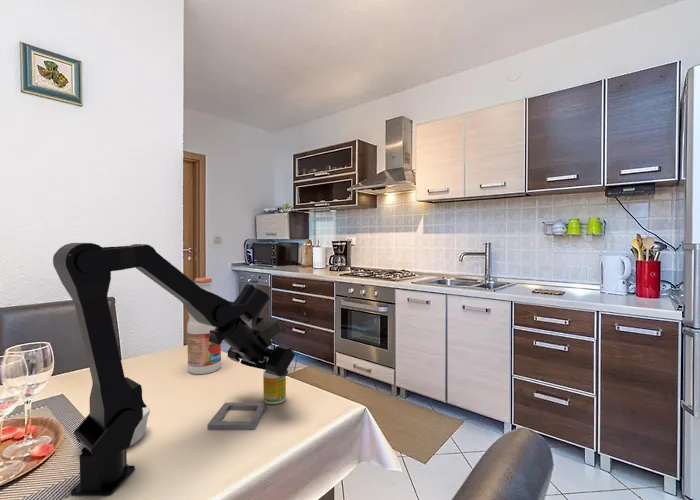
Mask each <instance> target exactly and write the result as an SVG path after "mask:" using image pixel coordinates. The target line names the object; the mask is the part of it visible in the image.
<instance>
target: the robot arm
mask: <svg viewBox="0 0 700 500" xmlns="http://www.w3.org/2000/svg"><path fill="white" fill-rule="evenodd" d="M52 265H53V268H54V269H55V271H56V274H57V276H58V278H59V280H60V282H61V284H62V285H63V287H64V289H65V290H66V292H67V294H68V295H69V296H70V297H71V299H72V302H73V304H74V308H75V311H76V317H77V321H78V325H79V329H80V333H81V338H82V341H83V347H84V351H85V355H86V359H87V364H88V368H89V372H90V376H91V381H92V386H91V390H90V395H89V413H88V415H87V416H85V418H84V420H82V422H81V423H80V424H79V425H78V426H77V427H76V429H74V430H73V436H74V437H75V439H76V441H77V442H78V443H79V444H80V445H82V449H81V454H79V456H78V458H79V459H78V460H79V461H78V462H79V482H78V484H76V485H75V486H74V487H73V488H72V489H70V495H75V496H76V495H78V496H80V495H81V496H88V495H89V496H109V495H111V494H114V492H115V491H116V489H117V488H119V487H120V486H121V484H122V483H123V482H124V481H126V479H127V478H128V477H129V476H130V475H131V474H132V473H133V472H134V471H135V470H136V466H135V465H127V464H128V463H127V462H128V461H127V458H128V457H127V449H128V448H130V447H131V446H130V443H131V440H132V437H133V434H134V431H135V428H136V427H137V426H138V424H139V423H140V421H141V420H142V418H143V409H142V408H146V405H147V404H146V403H145V402H144V400H143V388H142V384H140V383H138V382H136V381H135V380H133V379H131V378H129V377H127V376H125V371H124V368H123V363H122V359H121V354H120V349H119V346H118V340H117V336H116V331H115V328H114V322H113V318H112V313H111V308H110V303H109V299H108V293H109V289H110V286H111V280H112V273H111V272H117V271H124V270H129V269H134V268H135V269H136V270H138V271H139V272H140V273H142V274H144V275H145V276H146V277H147V278H149V279H150V280H151V281H153V283H156V284H157V285H158V286H159V287H160V288H162V289H164V290H165V291H166V292H168V293H169V294H171V295H172V296H173V297H174V298H176V299H177V300H178V301H180V302H181V303H182V304H183V306H184V308H185V309H186V311H187V313H188V312H189V313H190V314H191V316H192V317H193V318H194V319H195V320H196V321H197V322H199V323H202V324H206V325H209V326H213V327H216V328H215V329H214V330H210V336H209V342H211V343H214V344H217V345H220V344H221V345H222V342H225V343H226V344H227V345H228V346H230V347H229V349H228V350H227V358H229V360H231V361H233V362H236V363H240V364H241V365H244V366H246V367H250V368H256V369H259V370H264V371H265V370H266V372H267V373H270V374H272V375H276V376H279V377H281V376H286V377H288V374H289V371H288V368H289V367H290V365H291V363H292V362H293V359H294V358H295V356H296V352H295V350H293V348H292V347H288V346H284V345H282V344H280V345H278V346H275V348H272V349H271V348H269V347H270V346H271V345H272V343H273V341H272V339H273V338H275V336H277V335H278V334H280V333H281V332H282V331H283V328H282V326H281V324H280V321H279V319H278V318H277V317H272V316H263V317H261V316H260V315H261V314H262V312H263V311H264V309H265V308H266V306H267V305H268V304H269V303H270V300H271V298H270V296H269V294H268V293H267V292H264V291H263V290H262V289H260V288H258V287H256V286H255V285H253V284H249V283H247V284H245V285H244V286H243V288H242V290H241V291H240V293H239V294H238V296H237V297H236V298H235V299H234V301H229V300H227V299H226V298H224V297H222V296H219V295H218V294H215V293H211V292H209V291H206V290H204V289H202V288H201V287H199V286H198V285H197V284H196V283H195V282H194V281H193V280H192V279H190V277H188V276H187V275H186V274H185V273H183V272H182V271H181V270H180V269H178V268H177V267H176V266H175V265H173V264H172V263H171V262H170V261H168V260H167V259H166V258H164V257H163V256H162V255H161V254H160V253H158V252H157V251H156V249H155V247H153V246H152V245H150V244H145V243H133V244H131V245H123V246H122V245H120V246H101V245H99V244H96V243H92V242H71V243H70V242H69V243H67V244H64V245H63V246H60V247H59V248H58V249H57V250H56V252H55V253H54V254H53V257H52ZM246 322H250V323H251V324H250V325H251V326H249V325H248V323H246ZM240 360H241V361H240ZM267 360H268V361H267ZM266 361H267V362H266ZM145 404H146V405H145ZM129 446H130V447H129Z"/></svg>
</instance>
